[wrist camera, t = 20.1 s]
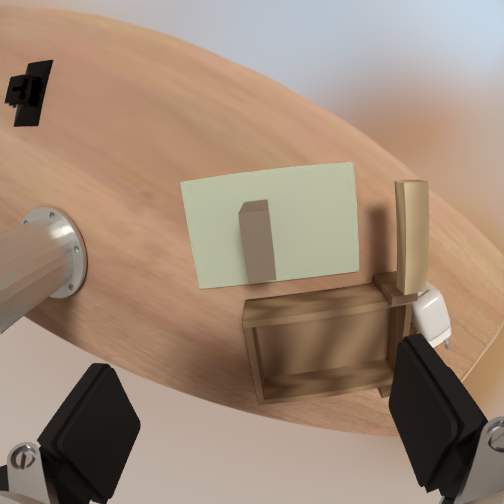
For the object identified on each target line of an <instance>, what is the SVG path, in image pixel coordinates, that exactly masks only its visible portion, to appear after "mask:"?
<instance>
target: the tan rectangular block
mask: <svg viewBox="0 0 504 504" xmlns="http://www.w3.org/2000/svg"><path fill="white" fill-rule="evenodd" d="M395 195H396V215H397V284H396V287H397V288H398V289H399V290H400V291H401V292H402V293H403V294H404V295H409V294H414V293H419V292H424V291H426V289H427V275H428V257H429V195H428V182H427V181H422V180H404V181H395Z"/></svg>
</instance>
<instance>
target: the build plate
mask: <svg viewBox="0 0 504 504" xmlns="http://www.w3.org/2000/svg"><path fill="white" fill-rule="evenodd" d="M52 63H53V60H47V61H40V62H34V63H29V64H28V66H27V70H26V73H25V75H19V76H14V77H11V78H10V82H9V86H8V90H7V94H6V99H5V103H6V104H9V106H13V108H16V107H17V111H16V116H15V122H14V127H20V126H38V125H39V120H40V114H41V109H42V104H43V99H44V95H45V90H46V86H47V82H48V78H49V74H50V70H51V67H52Z"/></svg>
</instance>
